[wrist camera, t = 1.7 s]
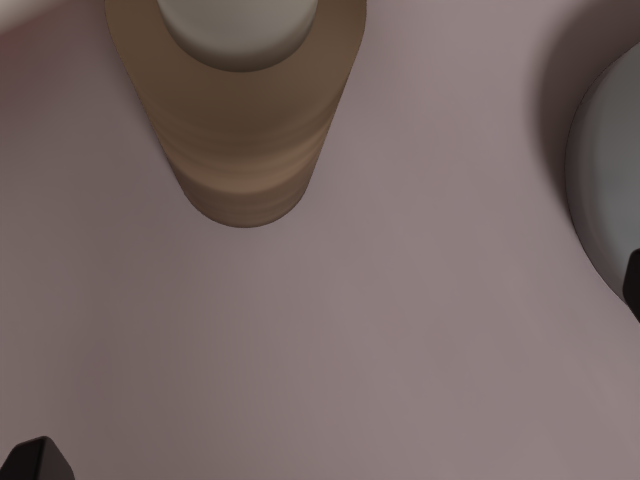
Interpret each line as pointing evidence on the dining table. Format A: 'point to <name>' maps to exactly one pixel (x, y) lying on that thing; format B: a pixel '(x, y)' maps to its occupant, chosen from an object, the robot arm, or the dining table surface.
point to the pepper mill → (239, 93)
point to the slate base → (607, 168)
